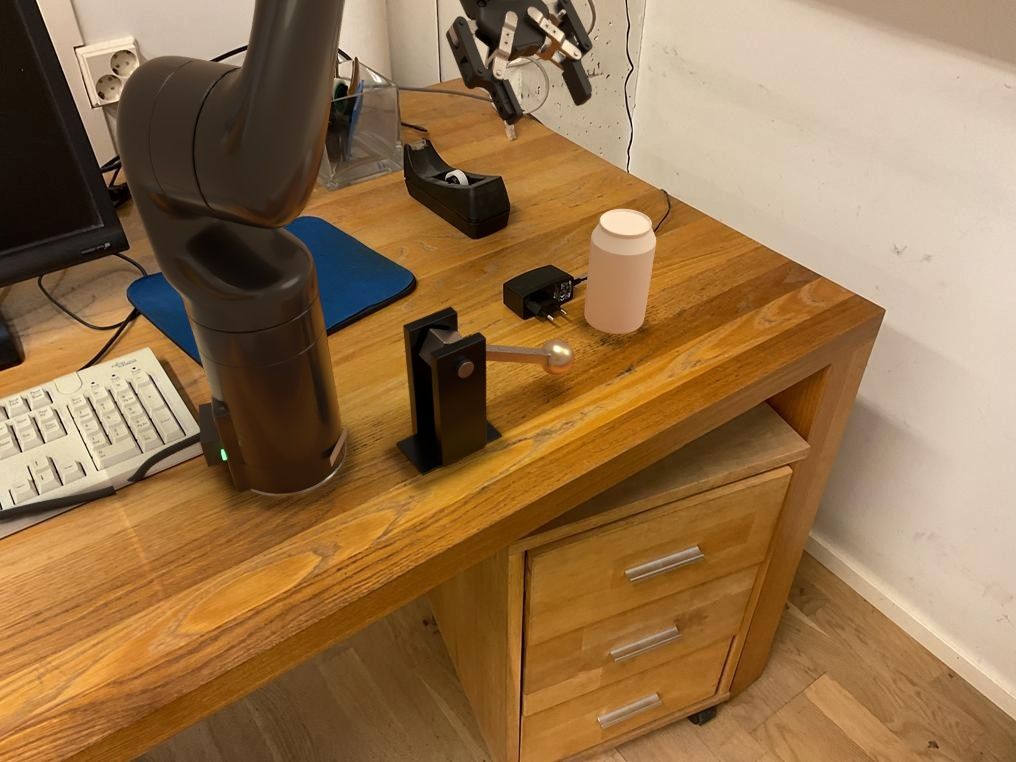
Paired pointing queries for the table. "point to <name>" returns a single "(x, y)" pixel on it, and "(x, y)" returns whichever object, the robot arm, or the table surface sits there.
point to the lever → (508, 352)
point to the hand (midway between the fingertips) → (551, 111)
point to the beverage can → (619, 271)
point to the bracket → (445, 395)
